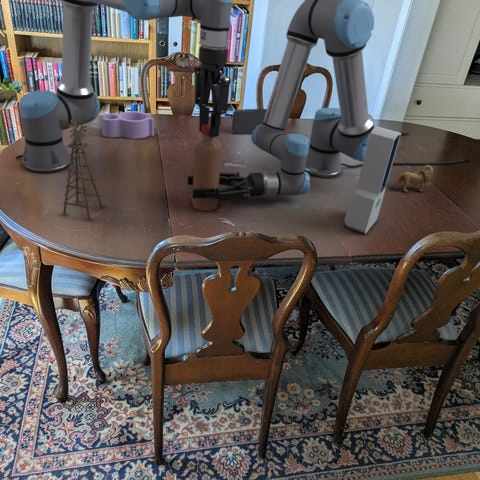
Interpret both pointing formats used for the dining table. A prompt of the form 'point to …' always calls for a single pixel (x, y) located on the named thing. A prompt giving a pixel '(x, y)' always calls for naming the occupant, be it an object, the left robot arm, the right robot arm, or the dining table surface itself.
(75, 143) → the miniature windmill
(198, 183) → the bottle
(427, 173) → the lion figurine
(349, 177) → the dining table surface
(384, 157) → the electronic device
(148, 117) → the clip
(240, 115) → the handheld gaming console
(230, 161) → the dining table surface
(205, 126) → the cap
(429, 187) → the dining table surface
